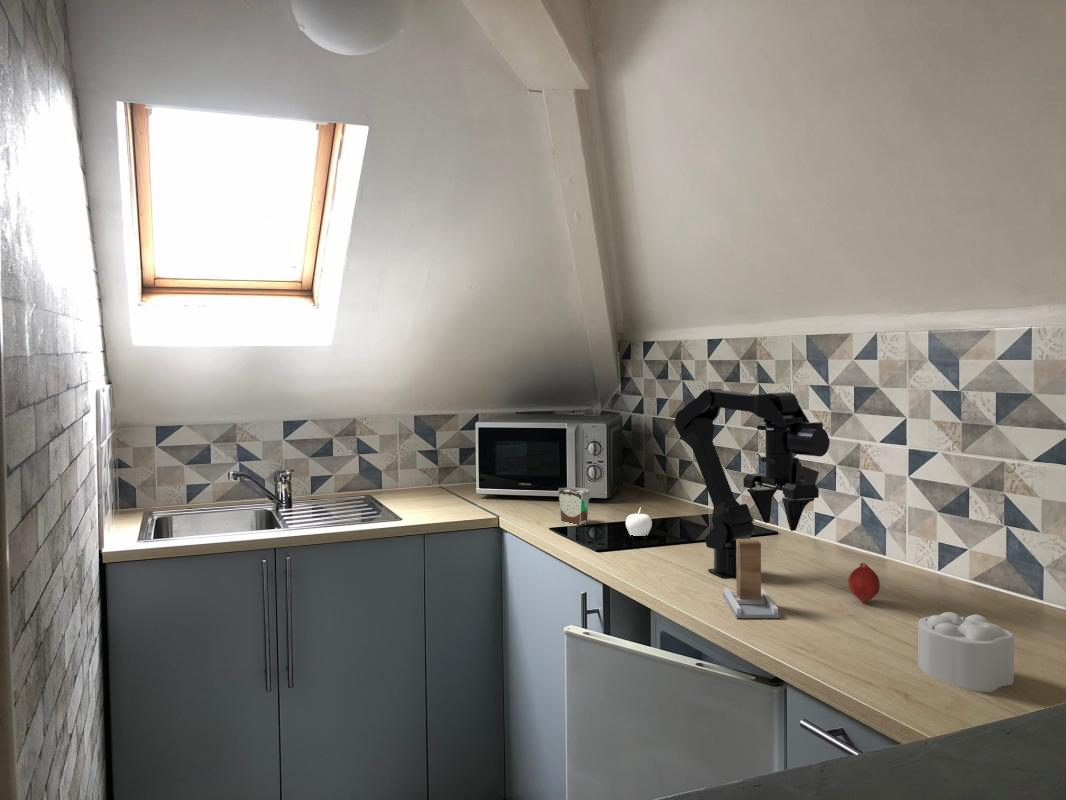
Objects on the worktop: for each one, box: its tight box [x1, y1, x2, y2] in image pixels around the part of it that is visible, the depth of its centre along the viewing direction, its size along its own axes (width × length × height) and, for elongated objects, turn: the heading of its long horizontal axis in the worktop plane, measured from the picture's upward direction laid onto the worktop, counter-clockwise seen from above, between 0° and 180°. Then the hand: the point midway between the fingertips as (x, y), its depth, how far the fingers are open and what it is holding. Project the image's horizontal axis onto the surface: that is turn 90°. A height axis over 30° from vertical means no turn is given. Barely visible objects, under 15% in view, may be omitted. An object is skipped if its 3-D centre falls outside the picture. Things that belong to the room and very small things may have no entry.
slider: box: [722, 587, 781, 619], centre depth 166 cm, size 15×8×2 cm, turn 177°
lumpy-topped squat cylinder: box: [917, 611, 1015, 693], centre depth 130 cm, size 10×13×9 cm
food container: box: [557, 487, 592, 525], centre depth 251 cm, size 12×6×10 cm, turn 34°
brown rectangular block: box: [732, 538, 765, 604], centre depth 167 cm, size 5×5×12 cm
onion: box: [847, 561, 881, 603], centre depth 168 cm, size 6×6×8 cm
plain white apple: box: [625, 507, 653, 536], centre depth 231 cm, size 7×7×8 cm
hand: (779, 526), depth 179 cm, fingers open, 9 cm apart
